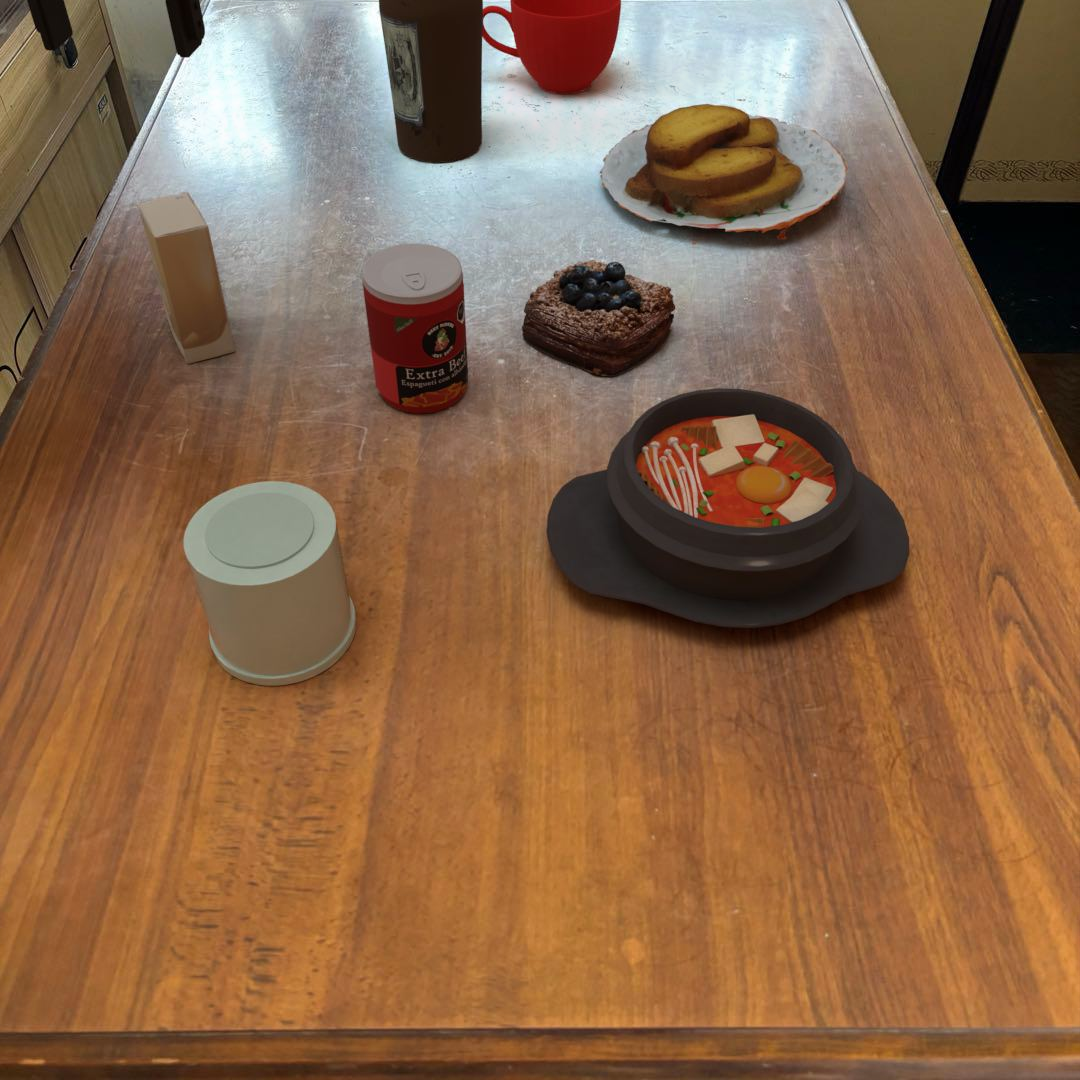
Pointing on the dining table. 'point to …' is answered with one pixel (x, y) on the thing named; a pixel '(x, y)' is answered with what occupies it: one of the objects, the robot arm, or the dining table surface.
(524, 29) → the ceramic cup
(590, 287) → the pastry
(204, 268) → the cosmetic box
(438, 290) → the canned food
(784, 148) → the food on plate
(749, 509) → the casserole
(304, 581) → the upturned cup
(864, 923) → the dining table surface
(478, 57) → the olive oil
